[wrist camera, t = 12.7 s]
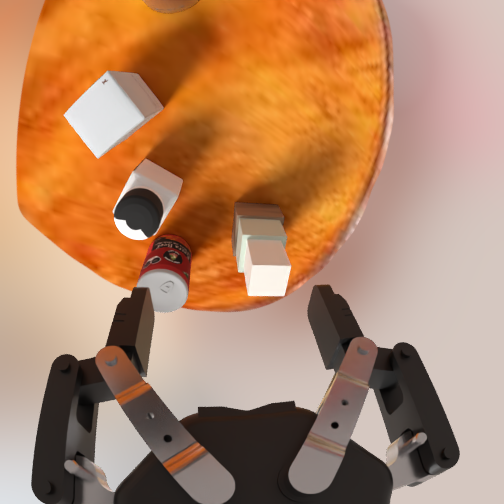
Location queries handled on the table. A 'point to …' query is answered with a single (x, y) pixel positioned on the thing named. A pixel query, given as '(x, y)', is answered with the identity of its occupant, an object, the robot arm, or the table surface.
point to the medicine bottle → (146, 200)
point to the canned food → (167, 272)
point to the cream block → (266, 267)
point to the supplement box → (112, 110)
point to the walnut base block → (253, 216)
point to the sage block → (257, 235)
